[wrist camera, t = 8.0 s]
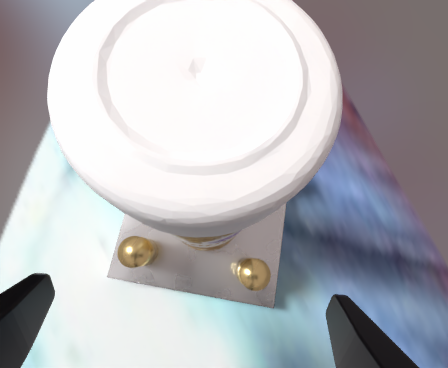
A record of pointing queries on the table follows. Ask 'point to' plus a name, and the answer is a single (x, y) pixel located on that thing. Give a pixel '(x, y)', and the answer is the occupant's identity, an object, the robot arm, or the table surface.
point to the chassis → (203, 261)
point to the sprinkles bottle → (195, 110)
